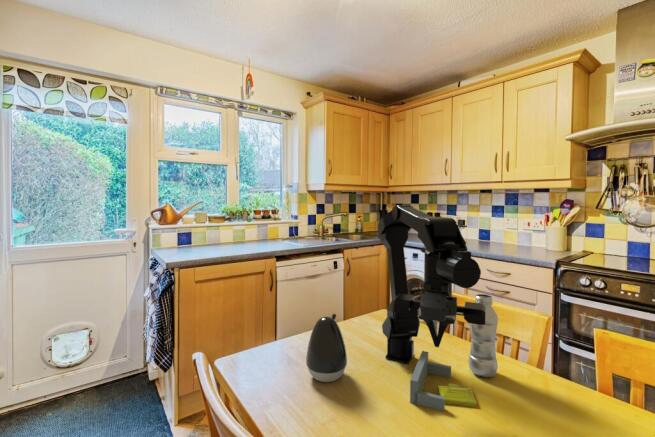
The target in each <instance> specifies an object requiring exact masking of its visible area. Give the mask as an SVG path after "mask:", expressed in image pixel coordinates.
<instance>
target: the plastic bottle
mask: <svg viewBox="0 0 655 437" xmlns="http://www.w3.org/2000/svg"><path fill="white" fill-rule="evenodd" d="M474 303H481V304H483V305H484V306H485V308H486V314H485V325H478V324H471V323H469V327H470V336H471V337H470V338H471V341H470V342H471V343H470V350H469V352H470V353H469V354H468V361H467V362H468V366H469V369H470V371H471V372H472V373H473V374H474V375H477V376H479V377H482V378H492V377H495V375H497V372H498V365H499V364H498V358H497V354H496V334H497V328H498V320H499V317H498V314H497V313H496V311H495V310H494V308H493V307H492V305H493V296H492V295H489V294H486V293H478V294H476V295H475V301H474Z"/></svg>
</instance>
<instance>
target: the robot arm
mask: <svg viewBox="0 0 655 437" xmlns="http://www.w3.org/2000/svg"><path fill="white" fill-rule="evenodd" d="M411 229H412V230H415V231H416V232H417V238H418V239H419V241H421V242H422V244H423V245H424V246H422V248H421V249H420V252H421V253H424V263H423V264H424V265H423V266H424V269H423V272H424V275H423V279H424V281H423V282H424V284H423V290H422V294H421V299H420V300H417V299H416V297H415V295H414V294H410V292H409V286H408V283H409V282H408V277H407V276H408V274H407V266H406V265H407V264H406V257H405V256H406V255H405V245H406V243H407V241H408V239H409V232H410V231H411ZM377 233H378V235H379V240H380V242H381V244H382V245H383V246H384V247H385V250H386V256H387V263H388V274H389V275H388V276H389V285H390V294H391V297H390V298H391V302H390V303H389V305H388V307H387V309H386V318H385V319H384V321H383V323H382V324H381V328H382V329H381V330H382V335H384V336H385V337H386V339H387V340H386V341H387V344H386V347H387V348H386V352H387V354H386V355H385V359H386V360H392V361H396V362H400V363H406V364H409V363H410V361H411V360H412V359H413V357H414V355H415V354H414V353H415V349H414V348H415V341H414V340H413V338H417V337H418V335H419V329H420V325H421V322H420V320H422V321H423V322H424V323H425V324H426V326H427V329H428V331H429V334H430V337H431V338H432V342H433V345H434V347H435V348H440V345H441V342H442V339H443V337H444V334H445V331H446V329H447V328H448V326H449V325H454V324H455V323H456V319H457V316H462V317H463V319H464V321H466V322H467V323H468V324H470V323H471V324H478V325H485V314H486V308H485V306H484V305H483V304H481V303H475V302H472V301H471V302H470V301H465V303H464V306H463V305H458V297H456V296H452V295H453V285H455V286H457V287H459V288H462V289H470V288H472V287H474V286H476V285H477V283H478V282H479V280H480V278H481V275H482V274H481V273H482V270H481V267H480V265H479V263H478V262H477V261H476V259H474V258H472V252H471V251H470V250H468V248H467V247H468V246H467V242H466V240H465V239H464V237H463V235H462V232H461V230H460V227H459V225H458V224H457V221H456V220H455V219H454V218H452V217H444V216H433V215H430V214H428V213H425V212H423V211H421V210H419V209H417V208H415V207H414V206H412V205H410V204H405V205H404V204H401V205H400V204H399V205H396V206H395V205H394V206H393V207H392V209H391V210H390V211H389V212H387V213H385V214H384V215H382V216H381V218H380V220H379V222H378V223H377ZM418 312H419V313H418ZM437 324H438V325H437Z"/></svg>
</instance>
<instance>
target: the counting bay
mask: <svg viewBox="0 0 655 437" xmlns="http://www.w3.org/2000/svg"><path fill="white" fill-rule="evenodd" d="M413 370H414V371H413V373H412V374H411V378H410V380H409V382H410V383H409V384H410V385H409V387H410V389H409V393H410V394H409V400H410V401H409V402H410V403H412V404H415V405H419V406H423V407H427V408H430V409H434V410H438V411H441V412H445V406H446V403H445V397H442V396H440V395H439V394H438V395H437V394H434V393H430V392H426V391H422V390H423V387H424V385H425V382H426V379H427V376H428V374H431V375H434V376H435V375H436V376H439V377H440V376H441V377H444V378H449V379H451V377H452V366H451V365H448V364H447V365H446V364H442V363H437V362H433V361H432V362H431V361H429V351H427V350H426V351H425V350H422V351H421V353H420V355H419V358H418V360H417V363H416V365H415V368H414V369H413Z"/></svg>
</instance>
